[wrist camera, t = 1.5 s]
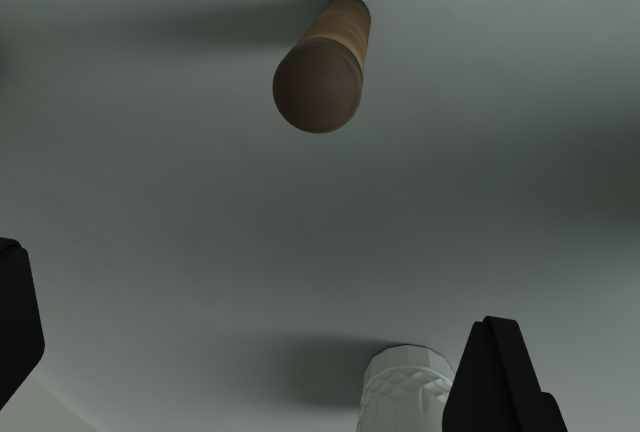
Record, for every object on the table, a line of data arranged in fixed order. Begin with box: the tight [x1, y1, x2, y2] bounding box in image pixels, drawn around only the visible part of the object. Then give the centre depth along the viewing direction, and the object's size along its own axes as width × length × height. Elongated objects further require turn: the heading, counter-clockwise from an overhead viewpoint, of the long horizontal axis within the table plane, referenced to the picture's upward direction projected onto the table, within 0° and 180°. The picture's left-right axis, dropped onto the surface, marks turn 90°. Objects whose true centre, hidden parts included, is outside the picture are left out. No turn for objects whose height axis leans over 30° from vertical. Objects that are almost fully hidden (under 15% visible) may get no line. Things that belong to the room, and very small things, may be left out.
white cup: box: [356, 345, 455, 432], centre depth 35 cm, size 8×8×10 cm
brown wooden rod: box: [273, 0, 371, 133], centre depth 22 cm, size 3×3×14 cm
